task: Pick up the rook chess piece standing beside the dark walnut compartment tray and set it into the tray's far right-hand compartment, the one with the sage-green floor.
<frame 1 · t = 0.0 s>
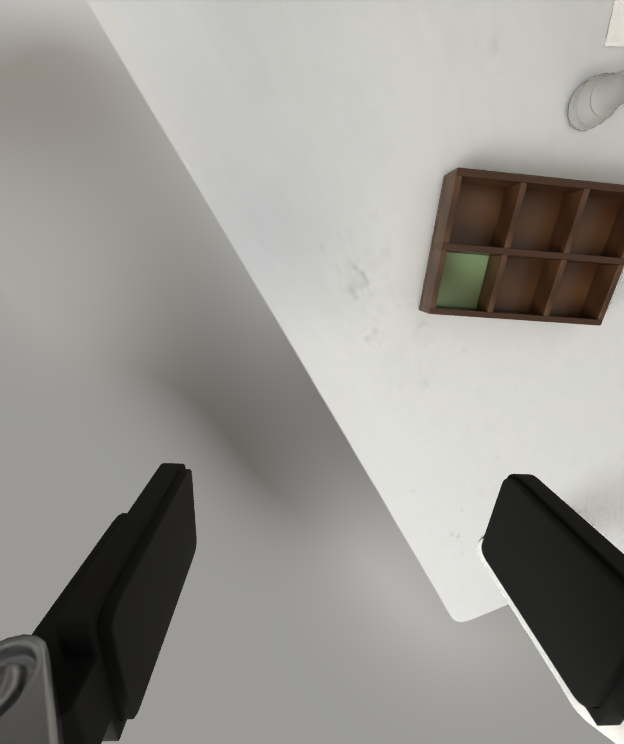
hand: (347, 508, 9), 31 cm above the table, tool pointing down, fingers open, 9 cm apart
tray: (517, 254, 37), on the table
water bottle: (495, 547, 54), on the table
rook chess piece: (583, 108, 32), on the table
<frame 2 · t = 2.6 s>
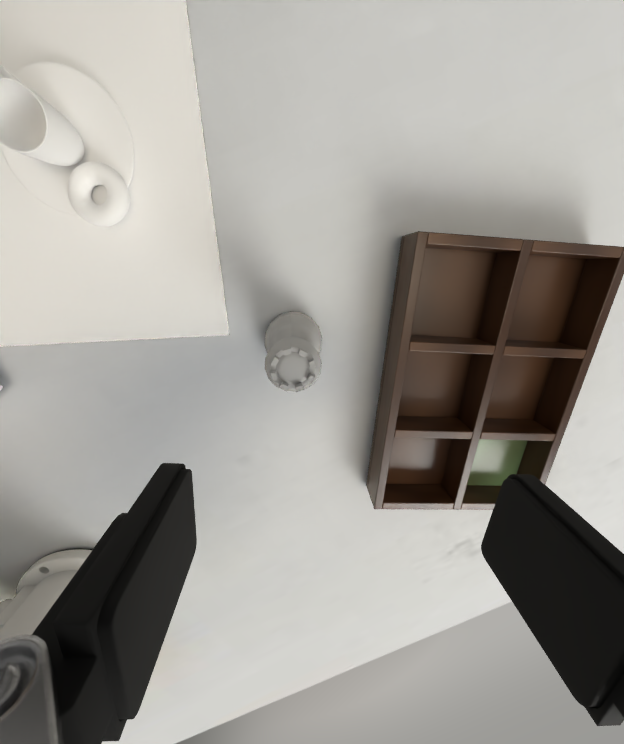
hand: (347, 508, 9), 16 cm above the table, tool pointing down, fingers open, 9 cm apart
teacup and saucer: (59, 194, 20), on the table, touching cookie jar
tray: (465, 381, 26), on the table
rook chess piece: (293, 338, 24), on the table
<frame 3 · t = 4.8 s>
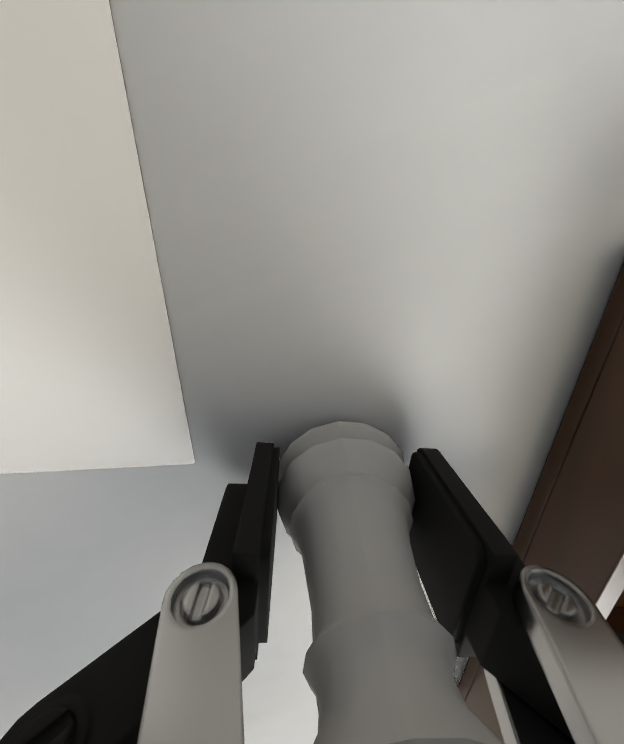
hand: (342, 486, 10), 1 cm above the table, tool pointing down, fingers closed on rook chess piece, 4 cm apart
rook chess piece: (338, 466, 11), on the table, touching gripper
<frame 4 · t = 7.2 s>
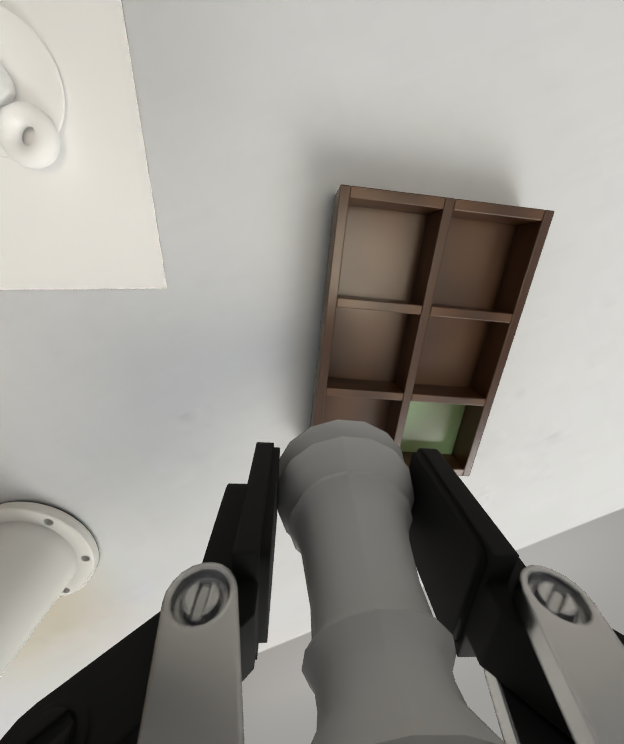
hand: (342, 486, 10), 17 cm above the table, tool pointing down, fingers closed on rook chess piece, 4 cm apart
tray: (403, 346, 26), on the table
rook chess piece: (338, 465, 11), point 16 cm above the table, touching gripper
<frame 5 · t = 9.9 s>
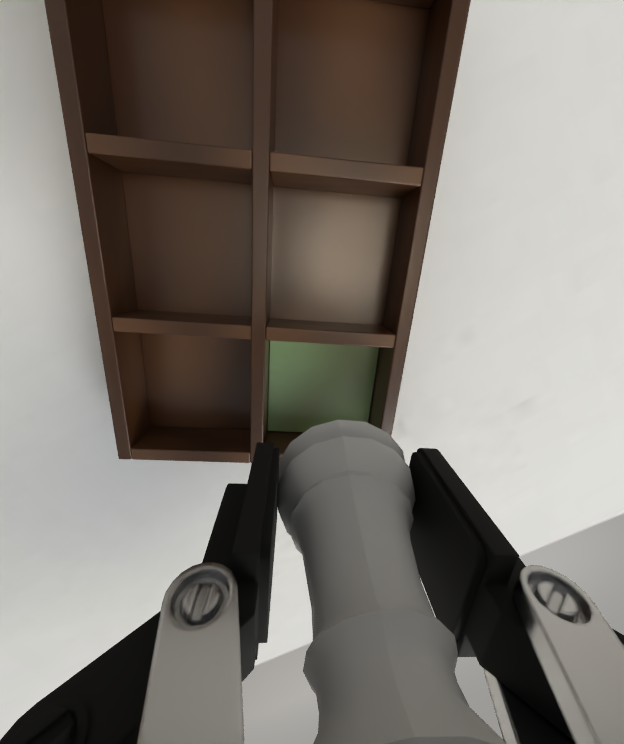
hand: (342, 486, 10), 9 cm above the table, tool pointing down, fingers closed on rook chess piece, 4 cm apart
tray: (266, 256, 16), on the table
rook chess piece: (339, 465, 11), point 8 cm above the table, touching gripper
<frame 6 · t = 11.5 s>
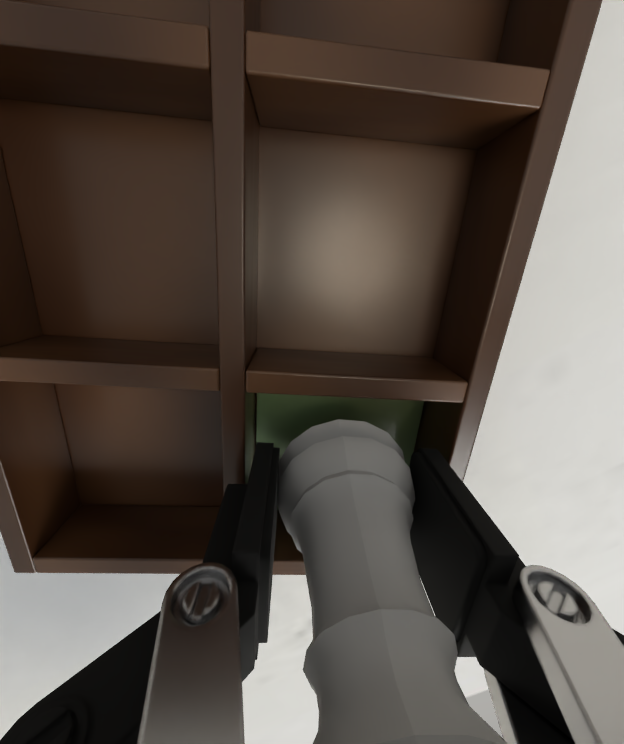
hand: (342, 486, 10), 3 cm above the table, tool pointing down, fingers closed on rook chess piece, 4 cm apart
tray: (249, 249, 10), on the table
rook chess piece: (339, 464, 11), point 2 cm above the table, touching gripper
when the fingers open (3 cm above the table, at t = 14.9 s): rook chess piece drops 1 cm, resting on tray.
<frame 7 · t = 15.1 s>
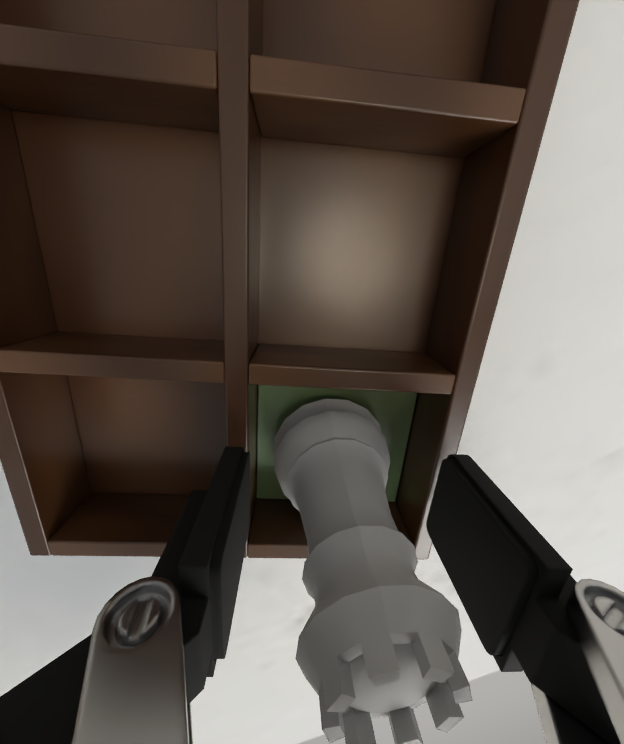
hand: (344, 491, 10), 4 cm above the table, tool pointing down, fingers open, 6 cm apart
tray: (251, 250, 11), on the table
rook chess piece: (326, 439, 13), point 1 cm above the table, touching tray
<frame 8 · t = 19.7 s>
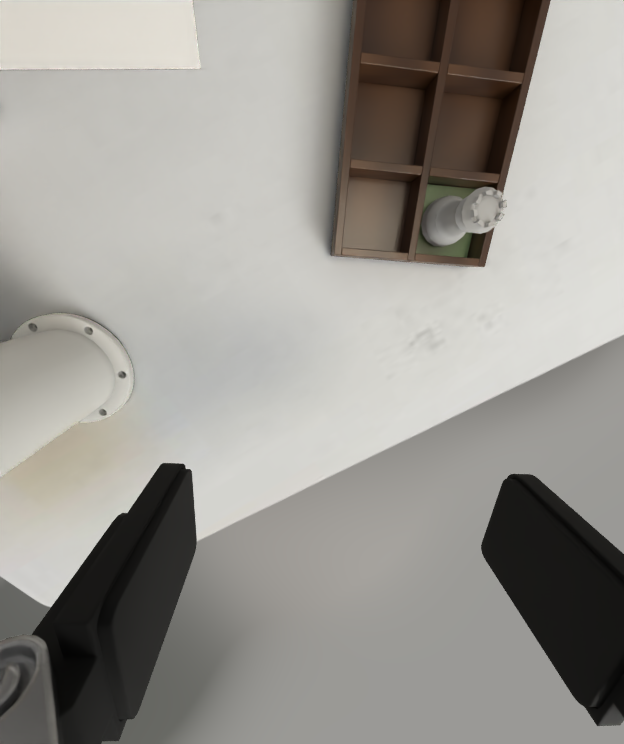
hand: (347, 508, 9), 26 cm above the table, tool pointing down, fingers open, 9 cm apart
tray: (420, 136, 28), on the table
rook chess piece: (440, 223, 30), point 1 cm above the table, touching tray
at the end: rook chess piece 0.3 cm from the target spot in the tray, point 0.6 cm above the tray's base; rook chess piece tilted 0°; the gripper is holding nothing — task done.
